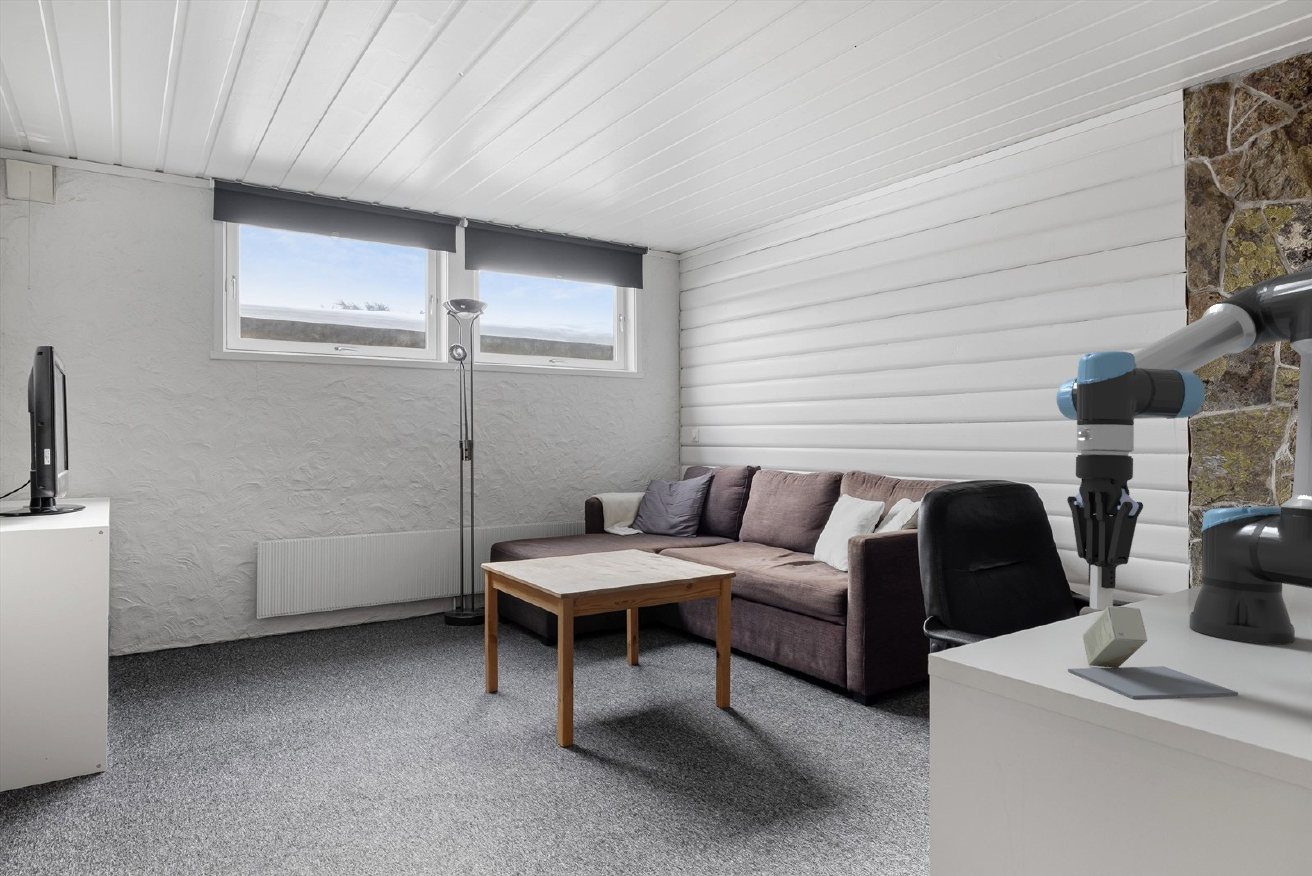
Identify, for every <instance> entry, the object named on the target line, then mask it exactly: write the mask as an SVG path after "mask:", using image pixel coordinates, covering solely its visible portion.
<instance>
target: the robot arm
mask: <svg viewBox="0 0 1312 876" xmlns="http://www.w3.org/2000/svg"><path fill="white" fill-rule="evenodd" d="M1285 341H1289V347H1290V348H1291V349H1292V350H1294V351H1295V352H1296V353H1298V354H1299V356H1300V363H1299V365H1300V369H1299V381H1298V382H1299V384H1298V399H1297V401H1298V403H1297V419H1296V420H1297V423H1296V438H1295V455H1294V459H1295V460H1294V472H1293V473H1294V474H1293V491H1292V496H1291V497H1290V498H1289V499H1288V500H1286V501H1284V502H1283V503H1282V504H1281V505H1280V507H1278V506H1249V507H1246V506H1245V507H1223V508H1222V507H1220V508H1211V509H1209V510H1207V511H1206V512H1205V513H1204V515H1203V517H1202V528H1201V531H1200V534H1201V588H1200V591H1199V593H1198V595H1197V598H1196V601H1195V604H1194V607H1193V611H1191V612H1190V614H1189V625H1188V626H1189V628H1190V629H1191V630H1193V631H1195V632H1198V633H1200V634H1204V635H1208V636H1212V637H1217V638H1222V639H1228V640H1233V641H1239V642H1245V643H1255V644H1270V645H1272V644H1273V645H1283V644H1285V645H1286V644H1292V643H1294V642H1295V637H1296V636H1295V635H1296V633H1295V632H1296V631H1295V627H1294V625H1293V624H1292V622H1291V619H1290V616H1289V612H1288V608H1287V606H1286V603H1285V600H1284V598H1283V597H1284V595H1283V584H1284V585H1291V586H1294V587H1295V586H1296V587H1302V588H1307V589H1312V268H1310V269H1306V270H1301V271H1296V272H1291V273H1286V274H1280V275H1277V276H1273V277H1270V278H1267V279H1265V280H1262V281H1260V282H1257V283H1255V284H1253V285H1251V286H1249V287H1246V288H1245V289H1243V290H1241V291H1239V292H1237V293H1235V294H1233V295H1231V296H1229V297H1227V298H1225V299H1223V300H1222V301H1220V302H1217V303H1216V304H1214V305H1212V306H1211V307H1208V308H1207V309H1206V310H1205V311H1204V312H1203V314H1202V316H1201V318H1198V319H1197V320H1196V321H1193V322H1191V323H1190V324H1188V325H1185V326H1184V327H1182V328H1180V329H1178V330H1175V331H1174V332H1172V333H1170V334H1169V335H1166V336H1165V337H1163V338H1160V339H1158V340H1157V341H1155V342H1152V343H1151V344H1149V345H1147V346H1145V347H1143V348H1142V349H1140V350H1138V351H1135V352H1133V353H1132V352H1128V351H1122V350H1121V351H1119V350H1116V351H1115V350H1114V351H1112V350H1111V351H1109V350H1108V351H1096V352H1095V351H1094V352H1090V353H1086V354H1084V355H1082V356H1081V357H1080V359H1078V360H1079V361H1078V366H1077V368H1078V369H1077V375H1076V377H1075V378H1071V379H1068V380H1065V381H1064V382H1063V383H1061V384H1060V386H1059V388H1058V390H1057V393H1056V399H1055V400H1056V405H1057V408H1058V410H1059V412H1060V413H1061V414H1062V415H1063V416H1064V417H1065V418H1067V419H1069V420H1073V421H1076V425H1077V426H1076V450H1077V451H1079V452H1080V454H1077V456H1076V457H1075V476H1076V478H1078V479H1081V482H1080V486H1079V487H1078V489H1079V490H1078V493H1077V494H1076V495H1075V496H1074V495H1073V496H1071V495H1070V496H1068V497H1067V500H1066V502H1067V504H1068V507H1069V508H1070V511H1071V516H1072V517H1071V519H1072V525H1073V530H1074V537H1075V545H1076V549H1077V551H1076V552H1077V556H1078V558H1080V559H1084V561H1086V563H1087V564H1088V579H1087V580H1088V584H1089V586H1090V587H1089V608H1090V609H1093V610H1098V611H1100V610H1102V611H1104V610H1105V609H1106V608H1107V607H1108V606H1114V589H1115V588H1116V580H1117V577H1116V575H1117V573H1116V572H1117V571H1116V570H1117V567H1119V566H1121V565H1127V564H1128V563H1129V560H1130V554H1131V549H1132V545H1133V540H1134V537H1135V531H1136V526H1137V521H1138V517H1139V516H1140V514H1141V513H1142V510H1143V508H1144V503H1143V502H1140V501H1135V500H1134V499H1133V498H1132V497H1131V496H1130V489H1129V486H1128V481H1130V480H1132V479H1133V478H1134V458H1133V456H1131V455H1129V453H1132V452H1134V450H1135V449H1134V447H1135V444H1134V443H1135V437H1134V435H1135V431H1134V430H1135V427H1134V425H1135V419H1150V418H1153V419H1154V418H1155V419H1157V418H1166V419H1168V420H1169V419H1173V420H1174V419H1182V418H1183V419H1184V418H1187V417H1190V416H1193V415H1195V414H1196V413H1197V412H1198V411H1199V410H1200V409H1201V407H1202V405H1203V404H1204V401H1205V395H1206V392H1205V390H1206V389H1205V384H1204V383H1203V381H1202V379H1201V378H1200V377H1199V376H1198V375H1197V374H1195V373H1193V372H1194V371H1196V370H1197V369H1200V368H1202V367H1203V366H1206V365H1207V364H1209V363H1211V362H1213V361H1215V360H1217V359H1218V358H1221V357H1222V356H1224V355H1227V354H1238V353H1242V352H1244V351H1246V350H1248V349H1250V348H1252V347H1257V346H1260V345H1265V344H1270V343H1271V344H1272V343H1275V342H1285Z"/></svg>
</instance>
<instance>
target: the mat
mask: <svg viewBox="0 0 1312 876" xmlns="http://www.w3.org/2000/svg"><path fill="white" fill-rule="evenodd" d="M1067 672H1068V673H1070V674H1073V675H1076V676H1078V677H1080V678H1083V679H1085V680H1087V681H1090V682H1092V683H1094V684H1097V685H1099V686H1101V687H1104V688H1106V689H1108V690H1111V691H1114V692H1116V693H1118V694H1121V695H1123V696H1126V697H1127V698H1130V699H1133V700H1134V699H1135V700H1136V699H1139V700H1140V699H1164V698H1165V699H1167V698H1196V697H1197V698H1199V697H1225V696H1226V697H1227V696H1228V697H1229V696H1239V692H1238V691H1236V690H1233V689H1231V688H1226V687H1223V686H1222V685H1218V684H1215V683H1212V682H1210V681H1206V680H1205V679H1201V678H1199V677H1196V676H1192V675H1189V674H1187V673H1183V672H1181V671H1178V670H1175V669H1172V668H1170V667H1167V666H1163V665H1161V666H1158V665H1157V666H1128V667H1127V666H1126V667H1125V666H1124V667H1121V666H1120V667H1118V668H1112V667H1086V668H1084V667H1083V668H1079V667H1078V668H1067Z"/></svg>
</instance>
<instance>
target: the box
mask: <svg viewBox="0 0 1312 876" xmlns="http://www.w3.org/2000/svg"><path fill="white" fill-rule="evenodd" d="M1141 612H1142V611H1141V609H1140V608H1138V607H1127V606H1120V605H1119V606H1117V605H1113V606H1108V607H1107V608H1106V609H1105V610H1102V612H1101V613H1100V615H1099V616H1097V618H1096V619H1095V620H1094V621H1093V623H1092V624H1091V625H1090V626H1089V627H1088V628H1087V629H1086V630H1085V632H1084V633H1083V634H1082V640H1083V646H1084V651H1085V655H1086V659H1087V665H1088V666H1090V667H1092V666H1093V667H1098V668H1118V667H1121V666H1122V665H1123V664H1124V663H1126V661H1127V660H1128V659H1129V658H1131V657H1132V656H1133V655H1134V654H1135V653H1136V652H1137V651H1138V650H1139V649H1141V647H1142V646H1143V645H1145V643H1147V642H1148V636H1147V632H1146V629H1145V624H1144V620H1143V616H1142V613H1141Z"/></svg>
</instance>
